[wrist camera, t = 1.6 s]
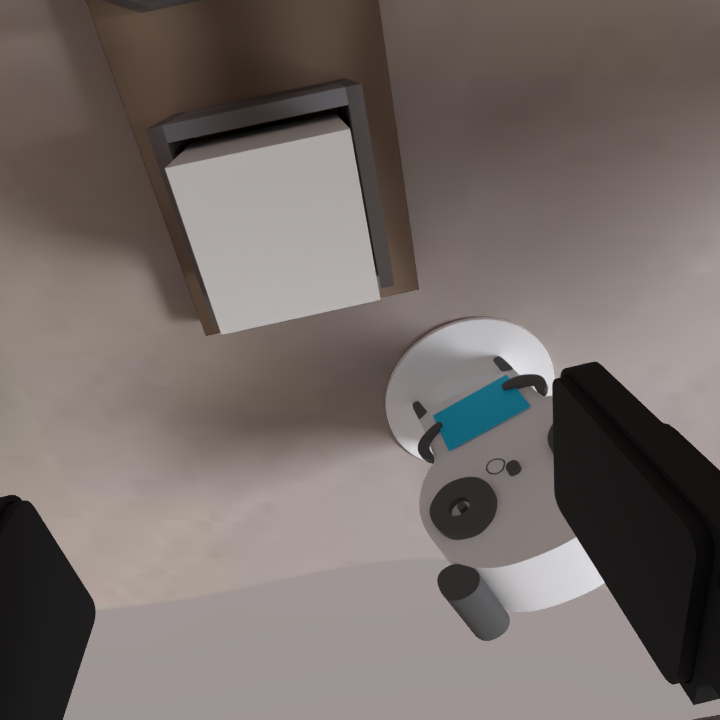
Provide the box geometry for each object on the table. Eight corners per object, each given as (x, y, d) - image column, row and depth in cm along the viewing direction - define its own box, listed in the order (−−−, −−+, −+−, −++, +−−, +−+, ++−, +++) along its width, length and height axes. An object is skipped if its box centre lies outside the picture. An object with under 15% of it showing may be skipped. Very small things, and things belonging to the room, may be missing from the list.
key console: (313, -393, 20) (331, -630, 13) (411, 276, 33) (446, 336, 26) (-16, -329, 20) (-175, -535, 13) (209, 321, 33) (190, 392, 26)
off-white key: (334, 112, 23) (349, 129, 18) (360, 251, 26) (380, 300, 21) (191, 143, 23) (164, 168, 18) (233, 278, 26) (221, 334, 21)
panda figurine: (524, 278, 34) (677, 418, 21) (583, 408, 39) (736, 586, 26) (353, 375, 36) (395, 561, 22) (432, 488, 41) (503, 692, 28)
